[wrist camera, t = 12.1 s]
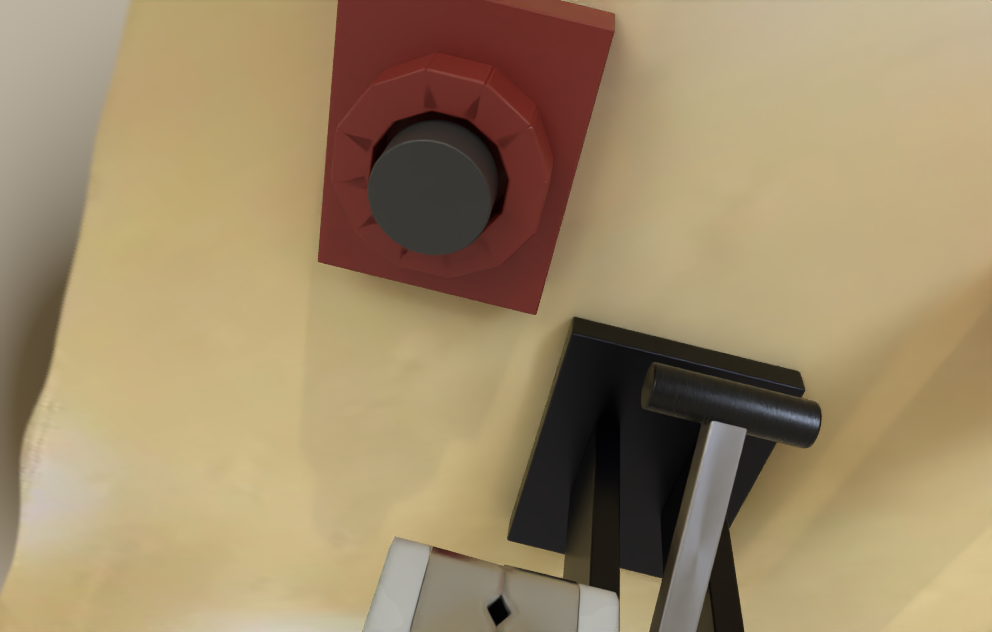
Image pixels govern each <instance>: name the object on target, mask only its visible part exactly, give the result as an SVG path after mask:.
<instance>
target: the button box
mask: <svg viewBox="0 0 992 632" xmlns="http://www.w3.org/2000/svg"><path fill="white" fill-rule="evenodd" d="M614 28H615V14H614V13H610V12H606V11H601V10H597V9H593V8H589V7H585V6H581V5H577V4H572V3H568V2H564V1H560V0H338V8H337V21H336V34H335V47H334V60H333V72H332V85H331V98H330V111H329V124H328V137H327V149H326V162H325V175H324V188H323V201H322V214H321V226H320V239H319V252H318V262H320V263H324V264H328V265H332V266H337V267H341V268H345V269H349V270H353V271H357V272H361V273H365V274H369V275H373V276H377V277H381V278H386V279H390V280H394V281H398V282H402V283H406V284H410V285H414V286H418V287H422V288H426V289H431V290H435V291H439V292H443V293H447V294H451V295H455V296H459V297H463V298H467V299H471V300H476V301H480V302H484V303H488V304H492V305H496V306H500V307H504V308H508V309H512V310H516V311H521V312H525V313H529V314H533V315H536V314H537V310H538V306H539V303H540V299H541V296H542V292H543V288H544V285H545V281H546V277H547V274H548V270H549V267H550V263H551V259H552V256H553V252H554V248H555V245H556V241H557V238H558V234H559V230H560V227H561V223H562V219H563V216H564V212H565V209H566V205H567V201H568V198H569V194H570V190H571V187H572V183H573V180H574V176H575V172H576V169H577V165H578V162H579V158H580V154H581V151H582V147H583V143H584V140H585V136H586V133H587V129H588V125H589V122H590V118H591V114H592V111H593V107H594V104H595V100H596V96H597V93H598V89H599V85H600V82H601V78H602V75H603V71H604V67H605V64H606V60H607V56H608V53H609V49H610V46H611V42H612V38H613V35H614ZM433 119H435V120H445V121H450V122H454V123H457V124H459V125H461V126H464V127H466V128H467V129H469V130H470V131H472V132H473V133H475V134H476V135H477V136H478V137H479V138H480V139H481V140H482V141H483V142H484V143H485V144H486V146H487V147H488V148H489V150H490V152H491V153H492V155H493V157H494V160H495V162H496V165H497V169H498V176H499V186H498V192H497V196H496V199H495V202H494V205H493V208H492V211H491V214H490V217H489V220H488V223H487V225H486V227H485V229H484V230H483V232H482V233H481V235H480V236H479V237H478V238H477V239H476V240H475V241H474V242H473V243H472V244H470V245H469V246H467V247H466V248H464V249H462V250H459V251H457V252H454V253H451V254H445V255H426V254H420V253H417V252H414V251H411V250H409V249H406V248H404V247H402V246H401V245H399V244H397V243H396V242H395V241H393V240H392V239H391V238H390V237H389V236H388V235H386V234H385V232H384V231H383V230H382V229H381V228H380V226H379V225H378V223H377V222H376V220H375V218H374V216H373V214H372V211H371V209H370V205H369V201H368V181H369V176H370V173H371V170H372V168H373V166H374V165H375V163H376V162H377V160H378V159H379V157H380V156H381V154H382V153H383V152H384V150H385V149H386V147H387V146H388V145H389V143H390V142H391V141H392V139H393V138H394V137H395V136H396V135H397V134H398V133H399V132H400V131H401V130H403V129H404V128H406V127H407V126H409V125H411V124H414V123H416V122H420V121H424V120H433Z"/></svg>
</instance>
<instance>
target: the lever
mask: <svg viewBox="0 0 992 632" xmlns="http://www.w3.org/2000/svg"><path fill="white" fill-rule="evenodd" d="M641 406H642V408H643V409H645V410H648V411H652V412H656V413H661V414H665V415H669V416H673V417H677V418H681V419H685V420H689V421H693V422H697V423H701V427H700V431H699V435H698V439H697V443H696V447H695V451H694V455H693V459H692V463H691V467H690V471H689V475H688V479H687V483H686V487H685V491H684V495H683V499H682V503H681V507H680V511H679V515H678V519H677V523H676V527H675V531H674V535H673V539H672V543H671V547H670V551H669V555H668V559H667V563H666V567H665V571H664V575H663V579H662V583H661V587H660V591H659V595H658V599H657V603H656V607H655V611H654V615H653V619H652V623H651V627H650V631H649V632H696V631H697V627H698V623H699V619H700V615H701V611H702V607H703V603H704V599H705V595H706V591H707V587H708V583H709V579H710V575H711V571H712V567H713V563H714V559H715V555H716V551H717V547H718V543H719V539H720V536H721V532H722V528H723V524H724V520H725V516H726V512H727V508H728V504H729V500H730V496H731V492H732V488H733V484H734V480H735V476H736V472H737V468H738V464H739V460H740V456H741V452H742V448H743V444H744V440H745V436H746V435H750V436H754V437H758V438H763V439H767V440H771V441H775V442H779V443H783V444H787V445H791V446H795V447H799V448H803V449H805V448H809V447H811V446H812V445H813V443H814V442H815V440H816V438H817V436H818V434H819V431H820V426H821V418H822V415H821V408H820V406H819V404H818V403H816V402H815V401H812V400H808V399H803V398H799V397H795V396H791V395H787V394H783V393H779V392H775V391H771V390H767V389H763V388H758V387H754V386H750V385H746V384H742V383H738V382H734V381H730V380H726V379H722V378H718V377H714V376H709V375H705V374H701V373H697V372H693V371H689V370H685V369H681V368H677V367H673V366H669V365H665V364H660V363H656V362H655V363H652V364H651V365H650V367H649V369H648V371H647V373H646V376H645V379H644V383H643V387H642V393H641Z"/></svg>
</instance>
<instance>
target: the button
mask: <svg viewBox="0 0 992 632" xmlns="http://www.w3.org/2000/svg"><path fill="white" fill-rule="evenodd" d="M498 186H499V176H498V169H497V165H496V162H495V160H494V157H493V155H492V153H491V152H490V150H489V148H488V147H487V146H486V144H485V143H484V142H483V141H482V140H481V139H480V138H479V137H478V136H477V135H476V134H475V133H473V132H472V131H470V130H469V129H467V128H466V127H464V126H461V125H459V124H457V123H454V122H450V121H445V120H435V119H433V120H424V121H420V122H416V123H414V124H411V125H409V126H407V127H406V128H404V129H403V130H401V131H400V132H399V133H398V134H397V135H396V136H395V137H394V138H393V139H392V141H391V142H390V143H389V145H388V146H387V147H386V149H385V150H384V152H383V153H382V154H381V156H380V157H379V159H378V160H377V162H376V163H375V165H374V166H373V168H372V170H371V173H370V176H369V181H368V201H369V205H370V209H371V211H372V214H373V216H374V218H375V220H376V222H377V223H378V225H379V226H380V228H381V229H382V230H383V231H384V232H385V234H386V235H388V236H389V237H390V238H391V239H392V240H393V241H395V242H396V243H397V244H399V245H401V246H402V247H404V248H406V249H409V250H411V251H414V252H417V253H420V254H426V255H445V254H451V253H454V252H457V251H459V250H462V249H464V248H466V247H467V246H469V245H470V244H472V243H473V242H474V241H475V240H476V239H477V238H478V237H479V236H480V235H481V233H482V232H483V230H484V229H485V227H486V225H487V223H488V220H489V217H490V214H491V211H492V208H493V205H494V202H495V199H496V196H497V192H498Z"/></svg>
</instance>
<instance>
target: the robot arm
mask: <svg viewBox="0 0 992 632" xmlns="http://www.w3.org/2000/svg"><path fill="white" fill-rule="evenodd" d="M431 548H432V551H431ZM430 553H431V555H430ZM429 557H430V558H429ZM428 561H429V562H428ZM362 632H619V600H618V597H617V595H616V593H615V592H612V591H608V590H604V589H600V588H596V587H591V586H587V585H583V584H577V582H576V581H571V580H567V579H563V578H559V577H554V576H550V575H546V574H542V573H538V572H533V571H529V570H525V569H521V568H516V567H512V566H508V565H504V566H501V565H498V564H494V563H491V562H487V561H484V560H480V559H476V558H473V557H469V556H466V555H462V554H459V553H455V552H451V551H448V550H444V549H441V548H437V547H434V546H433V547H432V546H430V545H426V544H423V543H419V542H415V541H411V540H407V539H403V538H399V537H396V536H395V538H394V540H393V542H392V543H391V545H390V547H389V551H388V554H387V557H386V560H385V563H384V566H383V569H382V572H381V575H380V579H379V582H378V585H377V588H376V591H375V594H374V597H373V600H372V603H371V606H370V610H369V613H368V616H367V619H366V622H365V625H364V628H363V631H362Z"/></svg>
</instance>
